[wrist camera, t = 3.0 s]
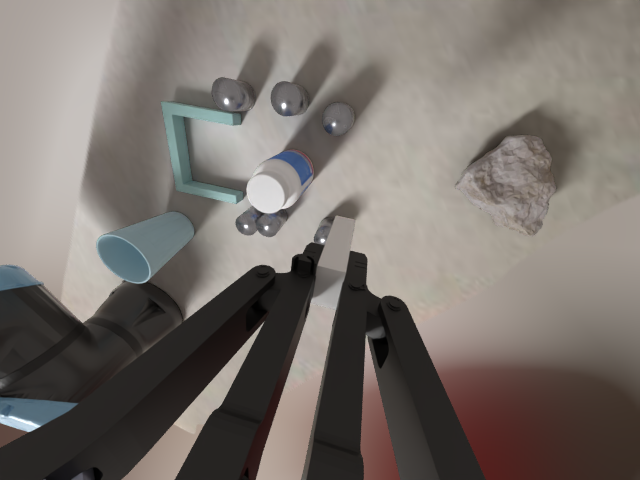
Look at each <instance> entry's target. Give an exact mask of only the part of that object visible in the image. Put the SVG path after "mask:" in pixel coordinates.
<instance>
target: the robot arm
mask: <svg viewBox="0 0 640 480" xmlns="http://www.w3.org/2000/svg"><path fill="white" fill-rule="evenodd" d="M354 226H355V219H350V218H346V217H341V216H337V215H336V216H335V219H334V222H333V225H332V227H331V230H330V233H329V235H328V238H327V241H326V243H325V245H321V244H317V243H313V242H311V243H310V244H308V245H307V246H306V248H305V250H304V252H303V254H297V255H295V256H294V257H293V258H292V266H291V271H290V272H288V273H275V270H274V269H273V268H272V267H270V266H267V265H259V266H255V267H254V268H252V269H251V270H249V271H248V272H247V273H246V274H244V275H243V276H242V277H240V278H239V279H238V280H237V281H235V282H234V283H233V284H231V285H230V286H229V287H228V288H226V289H225V290H224V291H222V292H221V293H220V294H219V295H217V296H216V297H215V298H213V299H212V300H211V301H210V302H208V303H207V304H206V305H204V306H203V307H202V308H201V309H199V310H198V311H197V312H195V313H194V314H193V315H192V316H190V317H189V318H188V319H186V320H185V321H184V322H183V323H182V315H181V312H180V310H179V308H178V306H177V305H176V304H175V302H174V301H173V300H172V299H171V298H170V297H169V296H168V295H167V294H166V293H164V292H163V291H162V290H160V289H159V288H157V287H155V286H153V285H151V284H149V283H146V282H145V283H132V282H128V281H125V282H124V283H122V284H121V285H119V286H118V287H116V288H115V289H114V290H113V291H112V292H111V293H110V295H109V297H108V298H107V299H106V301H105V302H104V303H103V304H102V305H101V306H100V308H99V309H98V310H97V311H96V313H95V314H94V315H93V316H92V317H91V318H89V319H88V320H87V321H85V322H84V323H82V322H81V321H80V320H78V319H77V318H76V317H75V316H74V315H73V314H72V313H71V312H70V311H69V310H68V309H67V308H66V307H65V306H64V305H63V304H62V303H61V302H60V301H59V300H58V299H57V298H56V297H55V296H54V295H53V294H52V293H51V292H49V290H48V289H47V288H46V287H45V286H44V283H43V282H39V281H38V280H36V279H35V278H34V277H33V276H32V275H31V274H29V273H28V272H27V271H26V270H25V269H23V268H21V267H19V266H15V265H1V266H0V423H3V424H5V425H8V426H11V427H14V428H17V429H21V430H24V431H28V432H29V433H27V434H25V435H23V436H21V437H20V438H18V439H16V440H14V441H12V442H10V443H8V444H7V445H5V446H3V447H1V448H0V480H121V479H122V478H123V477H125V476H126V475H127V474H128V473H129V472H130V471H131V470H132V469H133V468H134V467H135V465H136V464H137V463H138V462H139V461H140V460H141V459H142V458H143V457H144V456H145V455H146V454H147V452H149V450H150V449H151V448H152V447H153V446H154V445H155V444H156V443H157V441H158V440H159V439H160V438H161V437H162V436H163V435H164V433H165V432H166V431H167V430H168V429H169V428H170V427H171V426H172V425H173V423H174V422H175V421H176V420H177V419H178V418H179V417H180V416H181V414H182V413H183V412H184V411H185V410H186V409H187V408H188V407H189V405H190V404H191V403H192V402H193V401H194V400H195V399H196V398H197V396H198V395H199V394H200V393H201V392H202V391H203V390H204V389H205V387H206V386H207V385H208V384H209V383H210V382H211V381H212V380H213V378H214V377H215V376H216V375H217V374H218V373H219V372H220V371H221V369H222V368H223V367H224V366H225V365H226V364H227V363H228V362H229V360H230V359H231V358H232V357H233V356H234V355H235V354H236V353H237V351H238V350H239V349H240V348H241V347H242V346H243V345H244V344H245V342H246V341H247V340H248V339H249V338H250V337H251V336H252V335H253V333H254V332H255V331H256V330H257V329H258V328H259V327H260V326H261V324H262V323H263V322H264V321H265V322H264V324H263V326H262V328H261V330H260V332H259V333H258V335H257V337H256V339H255V341H254V343H253V345H252V347H251V349H250V351H249V353H248V355H247V357H246V359H245V361H244V363H243V364H242V366H241V368H240V370H239V372H238V374H237V376H236V378H235V380H234V382H233V384H232V386H231V388H230V390H229V392H228V394H227V395H226V397H225V399H224V401H223V403H222V405H221V406H220V407H219V408H218V409H216V410H214V411H213V412H212V414H211V415H210V416H209V418H208V420H207V421H206V423H205V425H204V427H203V428H202V430H201V432H200V434H199V436H198V438H197V440H196V441H195V443H194V445H193V447H192V449H191V451H190V453H189V454H188V457H187V458H186V460H185V462H184V464H183V466H182V467H181V469H180V471H179V473H178V475H177V477H176V479H175V480H256V476H257V473H258V469H259V465H260V461H261V457H262V453H263V450H264V447H265V444H266V441H267V438H268V435H269V432H270V428H271V426H272V422H273V419H274V416H275V413H276V410H277V407H278V404H279V401H280V398H281V395H282V392H283V389H284V386H285V383H286V380H287V376H288V373H289V370H290V367H291V364H292V361H293V358H294V355H295V352H296V349H297V346H298V343H299V340H300V337H301V333H302V330H303V327H304V324H305V321H306V318H307V315H308V312H309V307H310V303H311V304H315V305H319V306H322V307H326V308H330V309H334V310H336V313H335V317H334V321H333V325H332V331H331V336H330V341H329V346H328V351H327V356H326V361H325V366H324V371H323V376H322V381H321V386H320V391H319V396H318V401H317V406H316V411H315V415H314V421H313V426H312V430H311V435H310V440H309V445H308V450H307V455H306V460H305V465H304V470H303V474H302V479H301V480H363V479H364V465H363V458H362V455H361V451H360V440H361V420H362V398H363V379H364V358H365V338H366V335H367V336H368V342H369V347H370V351H371V355H372V359H373V364H374V368H375V372H376V377H377V381H378V385H379V390H380V394H381V398H382V403H383V407H384V411H385V416H386V419H387V424H388V429H389V433H390V437H391V441H392V446H393V450H394V454H395V459H396V463H397V467H398V472H399V476H400V480H486V479H485V477H484V475H483V473H482V470H481V468H480V466H479V464H478V461H477V459H476V457H475V455H474V453H473V451H472V448H471V446H470V444H469V442H468V440H467V437H466V435H465V433H464V431H463V428H462V426H461V424H460V422H459V420H458V417H457V415H456V413H455V411H454V409H453V406H452V404H451V402H450V400H449V398H448V396H447V393H446V391H445V389H444V387H443V385H442V382H441V380H440V378H439V376H438V374H437V371H436V369H435V367H434V365H433V363H432V360H431V358H430V356H429V354H428V352H427V350H426V347H425V345H424V343H423V341H422V338H421V336H420V334H419V332H418V330H417V328H416V325H415V323H414V321H413V319H412V316H411V314H410V312H409V310H408V308H407V306H406V304H405V303H404V302H403V301H402V300H401V299H399V298H397V297H394V296H385V297H383V298H382V299H381V298H379V297H377V296H375V295H373V294H372V293H371V292H370V291H369V290H368V288H367V285H366V277H367V257H366V256H365V254H362V253H358V252H354V251H350V248H351V242H352V237H353V231H354Z"/></svg>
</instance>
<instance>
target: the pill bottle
mask: <svg viewBox="0 0 640 480" xmlns="http://www.w3.org/2000/svg"><path fill="white" fill-rule="evenodd" d="M313 175H314V169H313V165H312V162H311V161H310V159H309V158H308V157H307V155H305V154H304V153H303V152H301V151H298V150H293V149H291V150H286V151H283V152H281V153H280V154H278V155H276V156H274V157H272V158H270V159H268V160H266V161H264V162H263V163H261V164H260V165H259V166H258V167H257V168H256V170H255V171H254V174H253V177H252V178H251V179H250V180H249V182H248V184H247V189H246V191H247V197H248V199H249V201H250V203H251V204H252V205H253V206H254V207H255V208H256V209H257V210H259V211H261V212H264V213H275V212H277V211H279V210H280V209H285V208H288V207H290V206H292V205H293V204H294V203H295V202H296V201H297V200H298V198H299V197H300V196H301V195H302V194H303V192H304V191H305V190H306V189H307V187H308V186H309V185H310V183H311V182H312V179H313Z"/></svg>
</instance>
